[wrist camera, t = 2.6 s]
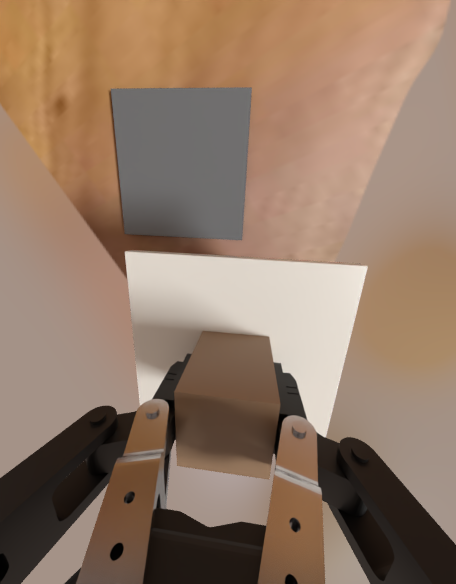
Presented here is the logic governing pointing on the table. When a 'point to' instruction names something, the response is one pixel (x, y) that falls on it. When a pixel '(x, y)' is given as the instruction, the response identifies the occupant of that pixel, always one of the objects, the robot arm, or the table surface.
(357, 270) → the lid
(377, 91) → the table surface
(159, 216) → the mat
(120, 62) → the table surface
